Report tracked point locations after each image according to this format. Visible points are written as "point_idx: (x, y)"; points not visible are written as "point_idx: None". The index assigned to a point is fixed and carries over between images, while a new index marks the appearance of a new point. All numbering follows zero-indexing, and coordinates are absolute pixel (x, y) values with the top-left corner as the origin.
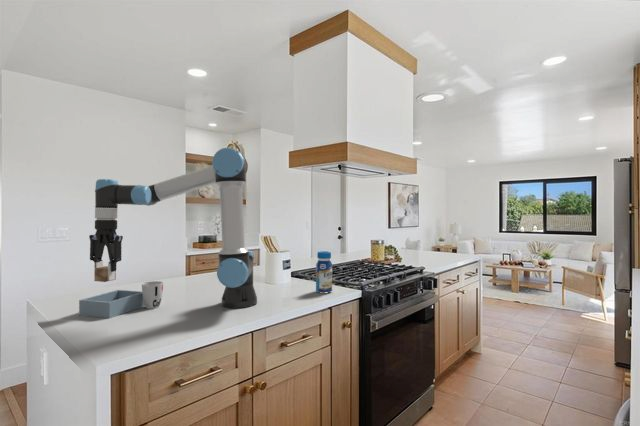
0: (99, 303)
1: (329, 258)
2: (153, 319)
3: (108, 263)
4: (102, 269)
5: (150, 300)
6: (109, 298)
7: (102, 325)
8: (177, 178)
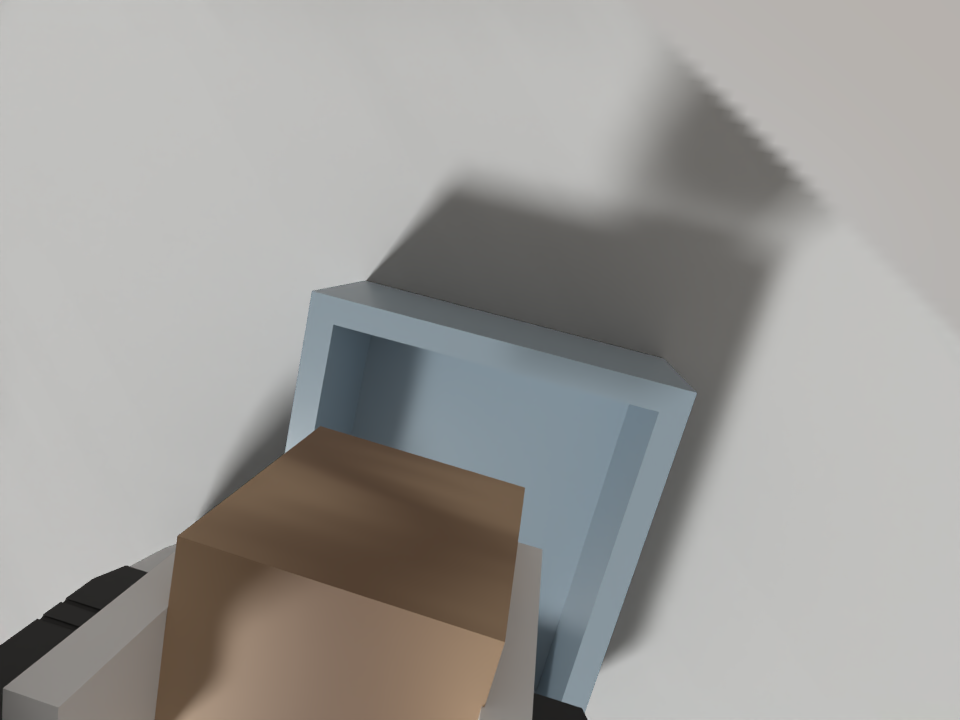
0: (436, 320)
1: None
2: (40, 259)
3: (40, 698)
4: (267, 548)
5: (161, 554)
6: (562, 651)
7: (303, 88)
8: None
